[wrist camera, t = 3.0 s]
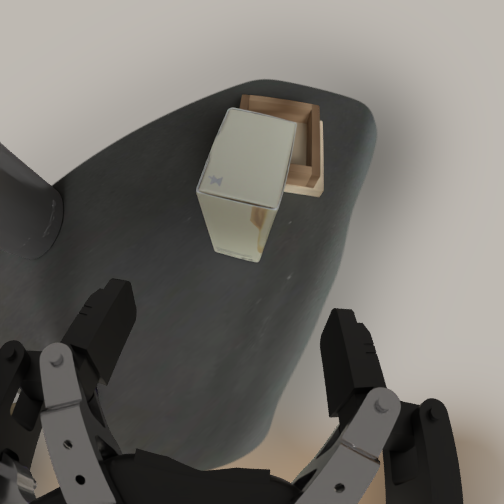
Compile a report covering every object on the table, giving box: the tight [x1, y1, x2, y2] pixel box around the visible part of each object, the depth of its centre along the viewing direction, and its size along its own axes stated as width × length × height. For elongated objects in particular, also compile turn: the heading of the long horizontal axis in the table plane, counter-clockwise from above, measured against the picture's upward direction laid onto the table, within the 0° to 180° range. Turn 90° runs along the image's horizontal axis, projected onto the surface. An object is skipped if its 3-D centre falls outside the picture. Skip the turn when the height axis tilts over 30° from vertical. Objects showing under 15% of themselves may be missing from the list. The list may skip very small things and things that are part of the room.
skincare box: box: [196, 108, 297, 262], centre depth 19 cm, size 6×4×12 cm
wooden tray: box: [239, 94, 323, 197], centre depth 25 cm, size 10×9×4 cm
